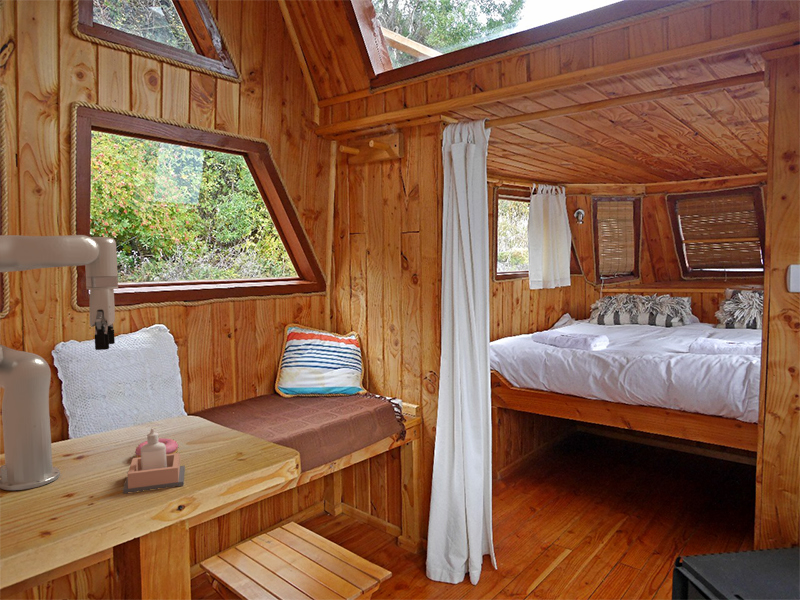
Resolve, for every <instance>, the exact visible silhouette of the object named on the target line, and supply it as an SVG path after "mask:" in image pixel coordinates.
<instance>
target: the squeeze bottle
mask: <svg viewBox="0 0 800 600" xmlns="http://www.w3.org/2000/svg"><path fill="white" fill-rule="evenodd" d="M158 439H159V433H158V432H156V431H155V428H153V427H152V428H150V432H149V433H148V434H147V439H146V441H148V444H146V445H144V446H142V447H141V470H149V469H158V468H166V467H167V461H166V446H165V444H164V443H161V442H158Z"/></svg>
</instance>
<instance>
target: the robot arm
mask: <svg viewBox="0 0 800 600" xmlns="http://www.w3.org/2000/svg"><path fill="white" fill-rule="evenodd" d="M80 266H85V267H84V268H85V269H84V270H85V287H86V288H85V289H86V290H89V326H90V327H93V328H94V349H95V350H96V351H103V350H106V351H107V350H109V349H110V345H115V341H116V340H115V329H114V328H115V327H114V323H115V319H116V313H115V312H116V308H115V291H114V290H115V289H117V290H118V289H119V279H118V275H119V274H118V259H117V242H116V240H115V239H114V238H113V237H108V236H88V235H86V234H75V235H74V234H73V235H72V234H71V235H46V236H45V235H17V234H15V235H14V234H11V235H9V234H8V235H7V234H6V235H4V234H2V235H0V273H7V272H8V273H9V272H10V273H11V272H23V271H29V270H39V269H47V268H48V269H49V268H67V267H80ZM51 372H52V371H51V368H50V365H49V363H48V362H47V361H46V359H44V357H42V356H41V355H39V354H36V353H33V352H28V351H23V350H16V349H13V348H11V347H8V346H5V345H2V344H0V388H2V389H3V396H2V401H1V421H2V434H3V435H2V436H3V449H4V450H3V451H4V463H5V464H2V465H1V466H0V489H1V490H5V491H23V490H29V489H34V488H38V487H42V486H44V485H47V484H50V483H52V482H54V481H56V480H57V479H58V478H59V477H60V476H61V469H59V468H58V467H56V466H53V454H52V451H53V450H52V435H51V420H50V419H51V418H50V417H51V416H50V387H51V378H52V373H51Z"/></svg>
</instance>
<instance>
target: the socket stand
mask: <svg viewBox="0 0 800 600" xmlns="http://www.w3.org/2000/svg"><path fill="white" fill-rule="evenodd" d="M180 454H181V453H180V452H177V453H174V454H166V461H167V467H166V468H158V469H149V470H141V457H139V458H137V457H133V458H132V459H131V463H130V466H129V468H128V472H127V476H126V479H125V482H124V485H123V487H122V494H123V493H125V494H129V493H128V492H133V493H138V492H137V491H140V492H144V491H143V490H148V491H151V490H150V489H155V490H159V489H158V488H163V489H167V488H166V487H170V488H175V487H174V486H178V487H184V486H183V485H185V474H186V473H185V471H186V465H181V455H180ZM184 473H185V474H184Z"/></svg>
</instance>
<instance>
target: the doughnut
mask: <svg viewBox="0 0 800 600" xmlns="http://www.w3.org/2000/svg"><path fill="white" fill-rule="evenodd" d="M158 442H161V443H164V444H165V446H166V454H174V453H178V451H179V444H178V442H177V441H175V440H174V439H172V438H165V437H164V438H163V437H161V438H158ZM146 444H148V441H147V440H145V441H143V442H141V443H140V444H138V445H137V446H136V447H135V451H134V453H135V458H139V457H141V447H142V446H144V445H146Z"/></svg>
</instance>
